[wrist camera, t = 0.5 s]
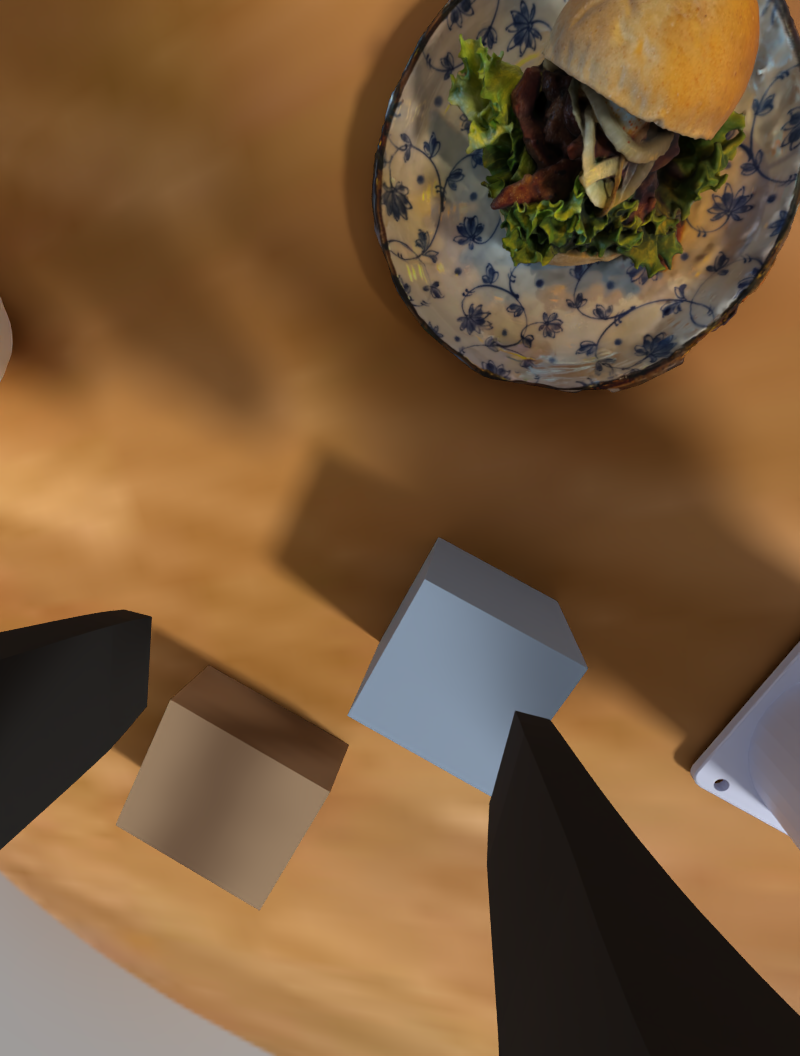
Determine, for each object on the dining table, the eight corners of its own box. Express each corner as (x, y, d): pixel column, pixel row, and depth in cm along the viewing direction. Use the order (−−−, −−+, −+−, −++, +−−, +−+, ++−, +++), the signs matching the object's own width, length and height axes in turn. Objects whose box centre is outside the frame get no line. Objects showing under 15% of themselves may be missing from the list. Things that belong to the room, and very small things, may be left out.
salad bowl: (317, 162, 16) (182, -63, 8) (655, -141, 13) (895, -887, 5) (504, 466, 17) (527, 497, 10) (852, 251, 14) (1262, 65, 7)
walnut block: (350, 739, 20) (330, 792, 17) (287, 847, 22) (259, 910, 19) (213, 661, 21) (170, 699, 18) (161, 773, 22) (115, 825, 20)
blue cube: (556, 600, 17) (588, 668, 13) (489, 701, 19) (494, 798, 14) (438, 536, 18) (424, 578, 13) (380, 641, 19) (347, 715, 14)
